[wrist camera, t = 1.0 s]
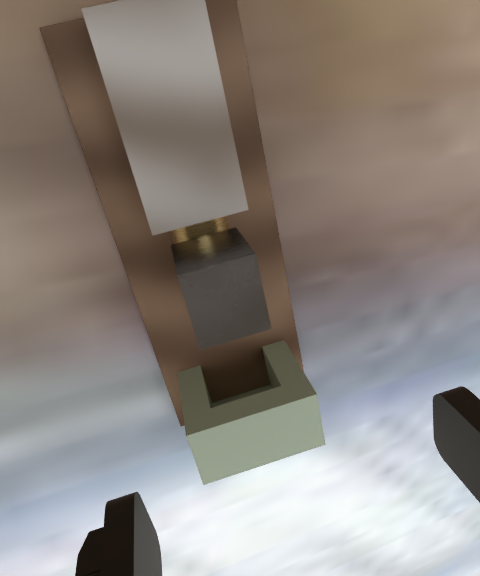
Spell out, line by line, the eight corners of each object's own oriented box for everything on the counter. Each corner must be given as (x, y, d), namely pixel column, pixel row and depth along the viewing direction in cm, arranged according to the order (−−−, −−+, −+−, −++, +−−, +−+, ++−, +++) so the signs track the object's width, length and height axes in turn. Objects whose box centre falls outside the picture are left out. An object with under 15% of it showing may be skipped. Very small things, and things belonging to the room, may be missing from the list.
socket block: (177, 372, 31) (186, 435, 25) (284, 339, 32) (316, 394, 26) (191, 416, 33) (203, 485, 27) (292, 384, 34) (325, 444, 28)
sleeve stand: (44, 31, 23) (14, 10, 17) (228, -8, 24) (257, -41, 18) (179, 413, 35) (187, 478, 29) (299, 375, 36) (332, 430, 30)
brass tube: (107, 27, 22) (93, -4, 15) (178, 11, 22) (197, -26, 15) (194, 321, 29) (212, 391, 22) (246, 306, 29) (280, 370, 23)
